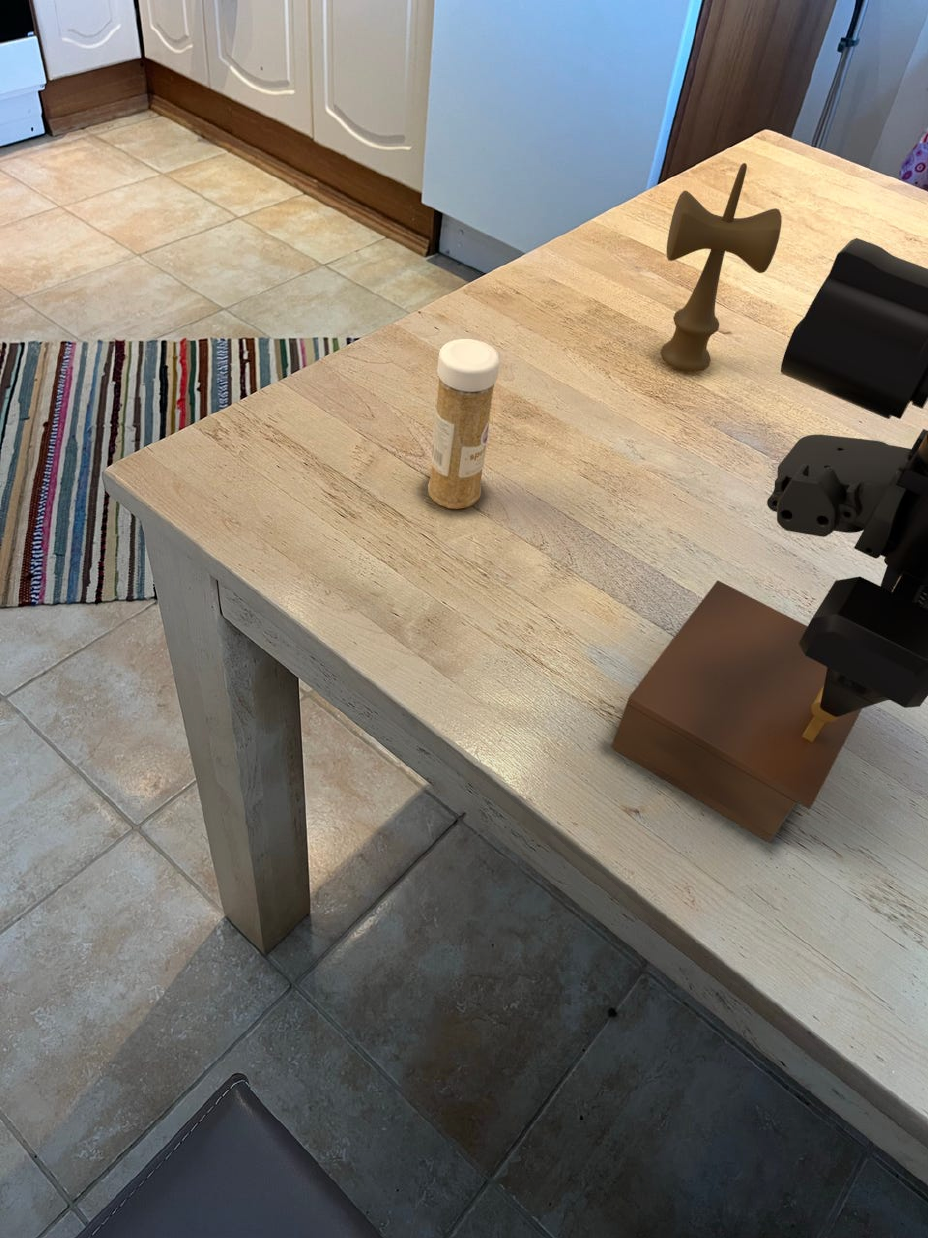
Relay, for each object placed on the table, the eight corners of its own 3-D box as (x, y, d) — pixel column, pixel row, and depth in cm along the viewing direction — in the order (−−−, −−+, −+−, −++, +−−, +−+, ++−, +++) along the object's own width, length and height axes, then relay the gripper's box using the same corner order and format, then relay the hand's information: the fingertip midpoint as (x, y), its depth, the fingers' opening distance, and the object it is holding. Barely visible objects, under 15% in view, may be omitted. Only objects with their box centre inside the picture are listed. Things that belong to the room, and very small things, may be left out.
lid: (880, 671, 64) (909, 627, 61) (809, 810, 56) (838, 767, 53) (714, 586, 68) (734, 540, 65) (626, 703, 60) (643, 658, 57)
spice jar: (481, 512, 78) (502, 372, 69) (426, 509, 78) (439, 368, 68) (479, 477, 82) (498, 337, 72) (426, 474, 81) (438, 333, 71)
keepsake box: (840, 708, 68) (868, 666, 64) (769, 843, 60) (796, 803, 56) (696, 631, 72) (714, 587, 68) (610, 747, 64) (626, 704, 60)
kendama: (637, 339, 100) (689, 140, 85) (729, 354, 99) (796, 158, 84) (636, 370, 95) (690, 167, 81) (731, 386, 95) (802, 185, 80)
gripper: (885, 315, 53) (787, 523, 65) (756, 474, 42) (665, 691, 53) (1089, 395, 49) (947, 600, 61) (1008, 592, 38) (853, 797, 50)
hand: (855, 663), depth 56 cm, fingers open, 9 cm apart
